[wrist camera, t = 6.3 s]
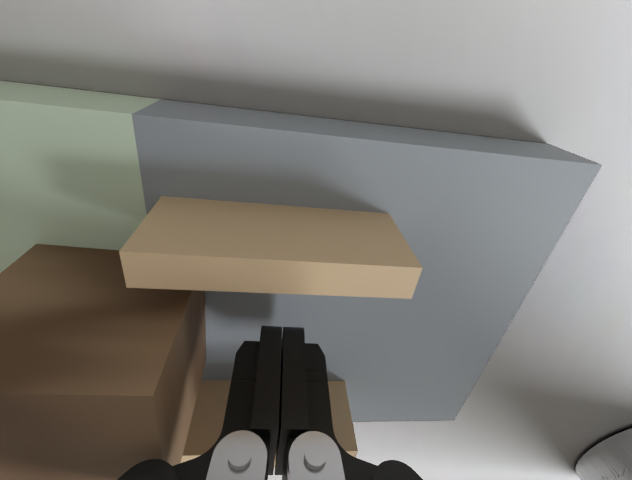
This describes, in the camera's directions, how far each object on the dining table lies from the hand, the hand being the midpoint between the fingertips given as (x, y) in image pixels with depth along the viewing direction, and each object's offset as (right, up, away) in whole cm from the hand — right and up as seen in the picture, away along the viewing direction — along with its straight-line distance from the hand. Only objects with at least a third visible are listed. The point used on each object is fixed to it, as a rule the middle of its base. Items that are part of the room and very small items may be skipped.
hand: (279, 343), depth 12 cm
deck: (-4, +2, +3) cm, 5 cm away
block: (-5, +1, 0) cm, 5 cm away
